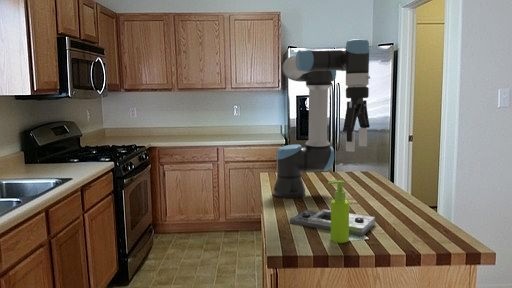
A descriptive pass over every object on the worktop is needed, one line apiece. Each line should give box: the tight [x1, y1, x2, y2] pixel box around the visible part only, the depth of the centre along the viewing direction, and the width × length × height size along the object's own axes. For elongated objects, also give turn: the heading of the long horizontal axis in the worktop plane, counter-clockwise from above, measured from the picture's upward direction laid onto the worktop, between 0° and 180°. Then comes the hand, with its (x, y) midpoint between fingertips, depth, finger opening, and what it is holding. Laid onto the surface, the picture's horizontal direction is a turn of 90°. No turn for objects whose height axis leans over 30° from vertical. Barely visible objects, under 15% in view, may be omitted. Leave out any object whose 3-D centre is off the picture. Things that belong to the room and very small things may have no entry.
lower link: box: [289, 209, 331, 231], centre depth 152 cm, size 20×14×2 cm, turn 57°
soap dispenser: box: [327, 180, 350, 244], centre depth 134 cm, size 6×7×20 cm
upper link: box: [308, 208, 376, 237], centre depth 148 cm, size 20×14×4 cm, turn 57°
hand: (356, 148), depth 140 cm, fingers open, 13 cm apart
